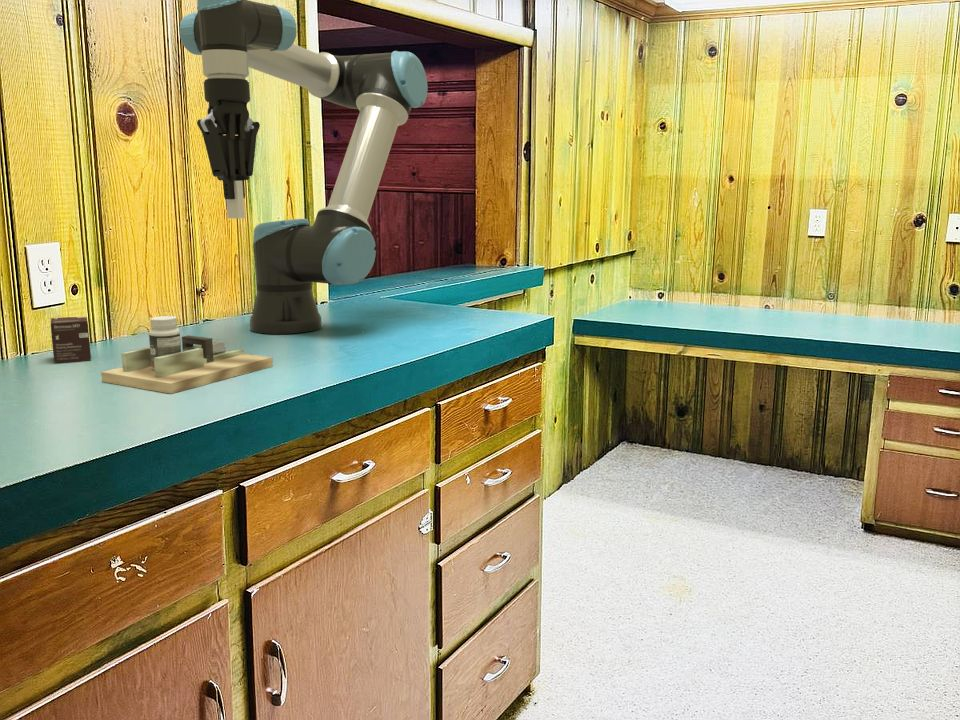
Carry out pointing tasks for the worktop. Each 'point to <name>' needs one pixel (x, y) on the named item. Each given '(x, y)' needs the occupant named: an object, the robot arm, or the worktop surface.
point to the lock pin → (217, 347)
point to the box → (70, 339)
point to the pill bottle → (164, 337)
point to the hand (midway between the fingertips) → (236, 218)
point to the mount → (183, 367)
